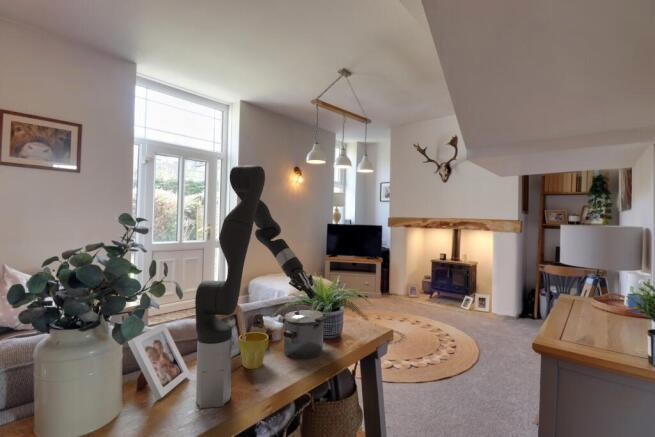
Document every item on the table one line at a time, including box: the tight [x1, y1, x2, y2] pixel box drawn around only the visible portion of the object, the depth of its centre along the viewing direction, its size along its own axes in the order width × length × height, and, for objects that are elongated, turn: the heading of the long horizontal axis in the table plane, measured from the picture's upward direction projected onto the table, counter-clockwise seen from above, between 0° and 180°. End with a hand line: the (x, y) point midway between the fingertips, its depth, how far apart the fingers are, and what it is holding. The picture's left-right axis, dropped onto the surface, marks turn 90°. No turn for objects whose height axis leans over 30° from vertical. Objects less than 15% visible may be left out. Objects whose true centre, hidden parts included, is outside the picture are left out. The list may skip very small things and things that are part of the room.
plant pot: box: [237, 331, 270, 370], centre depth 120 cm, size 10×10×10 cm
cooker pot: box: [277, 316, 324, 360], centre depth 133 cm, size 17×20×12 cm
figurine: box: [249, 312, 267, 334], centre depth 141 cm, size 7×7×12 cm
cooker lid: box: [284, 309, 329, 323], centre depth 132 cm, size 17×15×2 cm
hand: (313, 297), depth 131 cm, fingers closed
